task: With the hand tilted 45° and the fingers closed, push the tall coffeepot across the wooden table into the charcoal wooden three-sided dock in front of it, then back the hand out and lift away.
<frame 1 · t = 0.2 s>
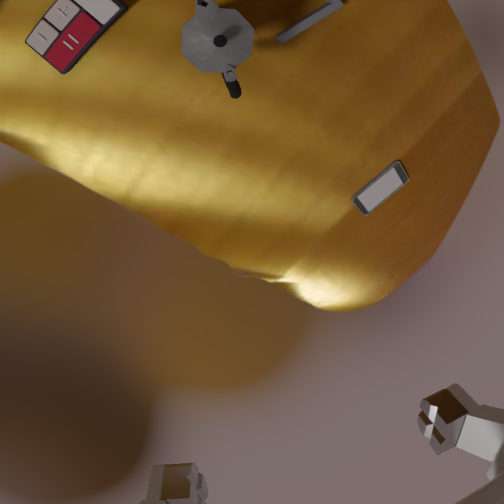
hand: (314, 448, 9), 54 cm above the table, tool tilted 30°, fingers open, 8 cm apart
coffeepot: (210, 41, 44), on the table
calculator: (77, 22, 36), on the table
smartphone: (379, 186, 71), on the table
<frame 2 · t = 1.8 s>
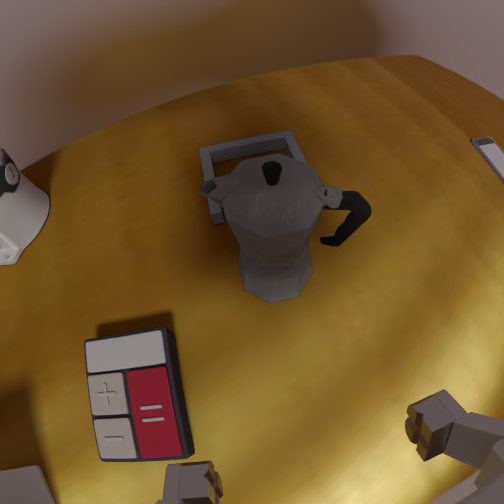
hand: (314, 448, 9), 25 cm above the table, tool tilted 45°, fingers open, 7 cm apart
dock: (256, 178, 47), on the table
coffeepot: (283, 270, 40), on the table
calculator: (142, 399, 33), on the table
smartphone: (500, 168, 47), on the table
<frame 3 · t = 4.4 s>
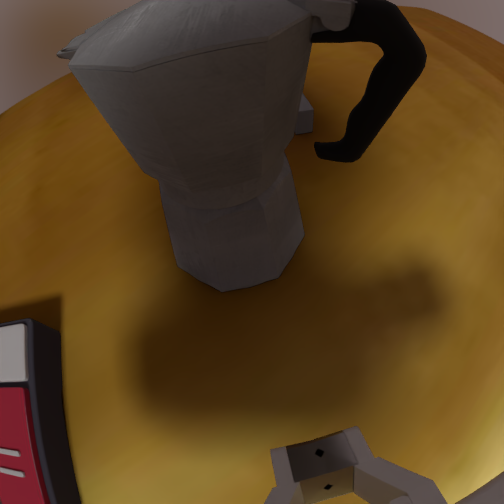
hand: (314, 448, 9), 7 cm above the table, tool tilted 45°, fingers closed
dock: (217, 106, 30), on the table
coffeepot: (252, 234, 22), on the table
calculator: (20, 432, 16), on the table
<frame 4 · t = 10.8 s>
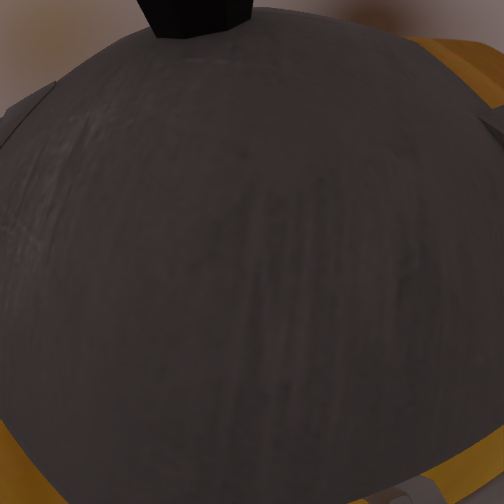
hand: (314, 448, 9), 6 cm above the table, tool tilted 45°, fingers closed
coffeepot: (284, 356, 17), on the table
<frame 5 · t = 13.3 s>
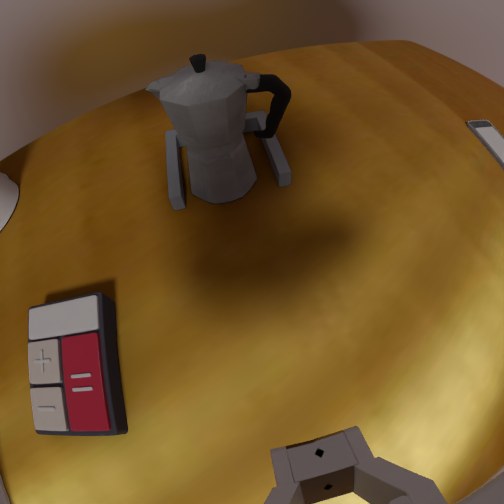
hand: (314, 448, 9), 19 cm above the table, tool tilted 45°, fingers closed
dock: (224, 160, 43), on the table
coffeepot: (230, 179, 41), on the table
calculator: (81, 371, 30), on the table
smartphone: (498, 152, 42), on the table
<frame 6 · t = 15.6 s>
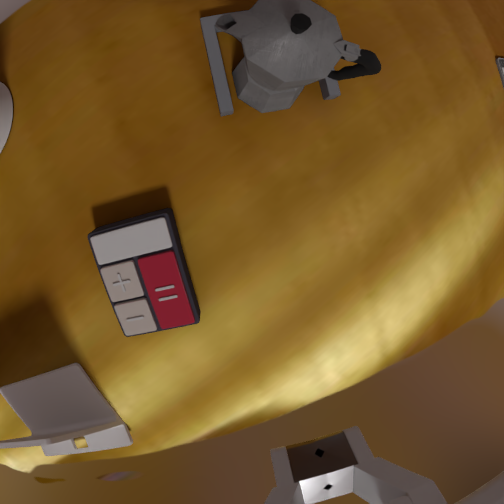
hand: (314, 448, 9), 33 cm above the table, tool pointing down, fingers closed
dock: (268, 58, 35), on the table
coffeepot: (276, 82, 36), on the table
tablet stand: (61, 412, 46), on the table
calculator: (148, 271, 41), on the table
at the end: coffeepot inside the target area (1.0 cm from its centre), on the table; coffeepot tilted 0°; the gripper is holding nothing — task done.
